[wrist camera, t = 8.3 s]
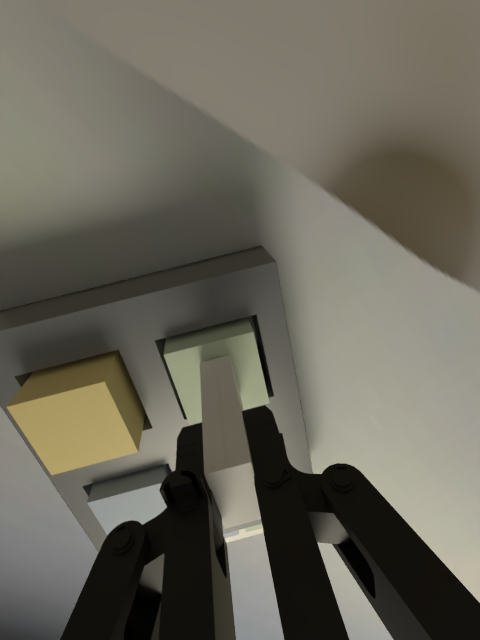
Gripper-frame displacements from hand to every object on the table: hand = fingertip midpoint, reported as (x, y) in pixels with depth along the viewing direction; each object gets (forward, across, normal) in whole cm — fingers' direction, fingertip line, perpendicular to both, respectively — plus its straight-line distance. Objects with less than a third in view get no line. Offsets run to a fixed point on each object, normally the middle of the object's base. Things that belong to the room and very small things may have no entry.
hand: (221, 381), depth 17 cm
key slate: (+4, -7, -8) cm, 11 cm away
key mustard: (+3, -7, 0) cm, 8 cm away
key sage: (+4, 0, 0) cm, 4 cm away
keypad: (+5, -4, -4) cm, 7 cm away
